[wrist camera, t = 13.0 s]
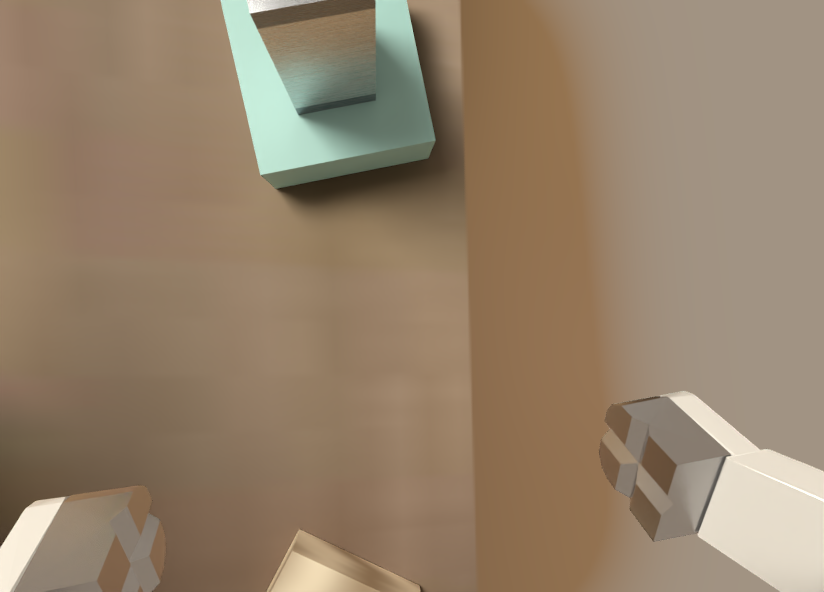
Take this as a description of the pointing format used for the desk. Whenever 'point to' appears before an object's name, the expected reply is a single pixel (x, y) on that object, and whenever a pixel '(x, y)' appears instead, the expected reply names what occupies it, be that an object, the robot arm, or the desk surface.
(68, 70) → the desk surface
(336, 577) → the stand
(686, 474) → the robot arm
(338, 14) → the block
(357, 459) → the desk surface
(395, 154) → the stand
